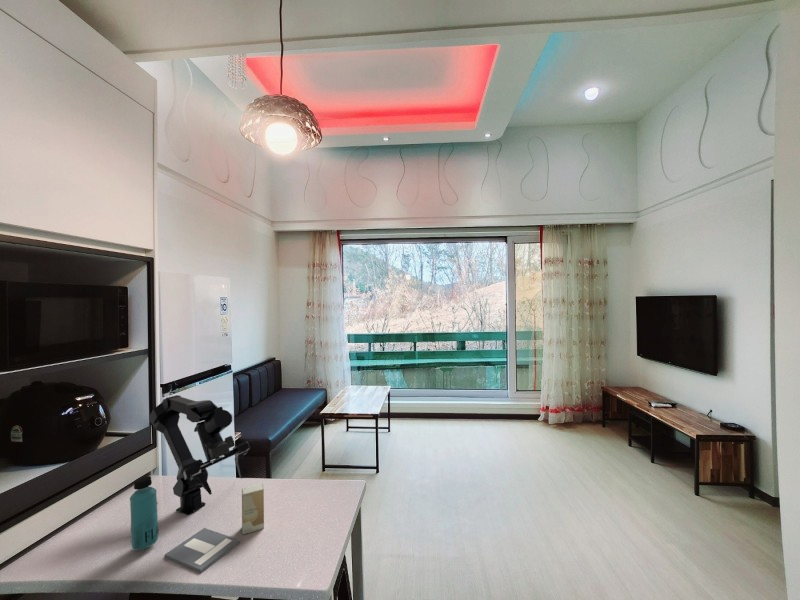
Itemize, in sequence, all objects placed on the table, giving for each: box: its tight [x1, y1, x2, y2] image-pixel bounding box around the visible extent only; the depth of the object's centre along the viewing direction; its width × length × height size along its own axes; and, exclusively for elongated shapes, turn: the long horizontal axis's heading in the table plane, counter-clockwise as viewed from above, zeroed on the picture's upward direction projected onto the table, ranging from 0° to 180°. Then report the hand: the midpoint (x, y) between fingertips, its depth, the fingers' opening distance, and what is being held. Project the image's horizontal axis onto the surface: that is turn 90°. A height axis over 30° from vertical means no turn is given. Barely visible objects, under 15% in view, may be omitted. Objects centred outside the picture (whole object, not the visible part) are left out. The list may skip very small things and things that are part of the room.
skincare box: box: [241, 482, 265, 535], centre depth 107 cm, size 6×4×12 cm
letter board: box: [163, 527, 241, 574], centre depth 98 cm, size 15×12×1 cm
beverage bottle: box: [129, 475, 159, 551], centre depth 99 cm, size 6×7×20 cm
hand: (226, 486), depth 107 cm, fingers open, 9 cm apart
